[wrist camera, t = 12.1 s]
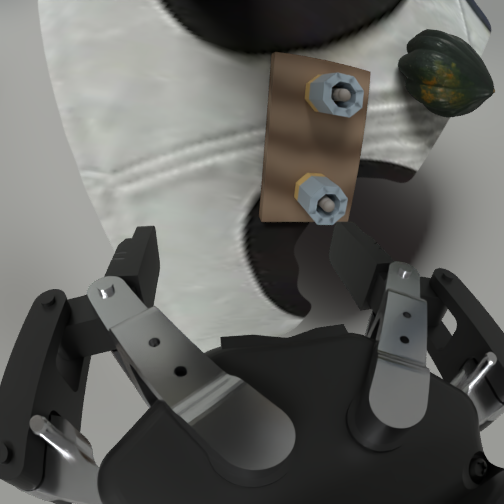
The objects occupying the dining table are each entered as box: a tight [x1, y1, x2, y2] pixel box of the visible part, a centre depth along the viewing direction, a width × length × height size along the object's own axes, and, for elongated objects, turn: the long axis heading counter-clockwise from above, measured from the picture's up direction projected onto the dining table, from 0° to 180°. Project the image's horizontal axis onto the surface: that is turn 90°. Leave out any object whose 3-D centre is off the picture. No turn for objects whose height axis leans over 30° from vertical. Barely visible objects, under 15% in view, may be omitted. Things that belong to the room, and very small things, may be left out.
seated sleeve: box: [305, 72, 364, 118], centre depth 29 cm, size 5×5×6 cm
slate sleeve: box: [294, 173, 348, 225], centre depth 37 cm, size 5×5×6 cm
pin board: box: [259, 52, 370, 222], centre depth 33 cm, size 24×14×9 cm, turn 176°
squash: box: [398, 29, 495, 117], centre depth 27 cm, size 14×15×15 cm
